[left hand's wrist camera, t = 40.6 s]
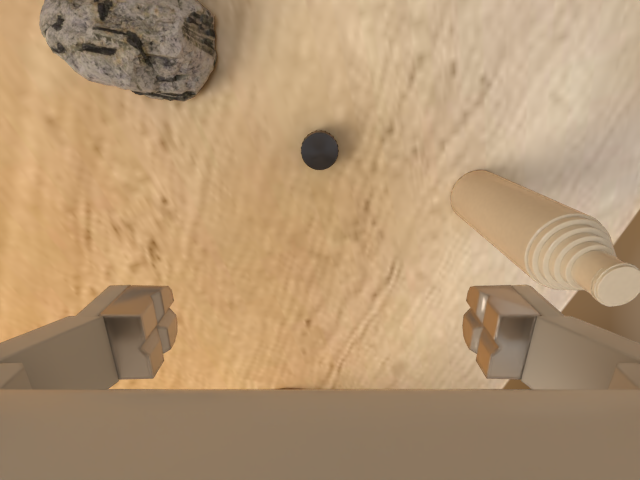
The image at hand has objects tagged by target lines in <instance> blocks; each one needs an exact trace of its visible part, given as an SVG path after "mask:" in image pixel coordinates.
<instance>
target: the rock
mask: <svg viewBox="0 0 640 480" xmlns="http://www.w3.org/2000/svg"><path fill="white" fill-rule="evenodd" d="M39 25H40V29H41V32H42V35H43V36H44V37H45V38H46V41H47V44H48V45H49V47H50V48H51V50H52V52H53V53H55V54H57V55H58V56H60V57H61V58H62V59H63V60H65V61H66V62H67V63H68V64H69V66H70V67H71V68H72V69H73V70H74V71H75V72H77V73H78V74H80V75H81V76H83V77H84V78H86V79H87V80H89V81H92V82H96V83H100V84H104V85H109V86H116V87H118V88H121V89H125V90H127V89H128V90H131V91H132V92H134V93H135V94H138V95H145V96H147V97H149V98H154V99H162V100H163V99H167V100H170V101H171V100H179V101H186V100H188V99H190V98H192V97H194V96H195V95H196V94H197V93H198V92H199V91H200V89H201V88H202V87H203V86H204V84H205V83H206V81H207V80H208V77H209V75H210V73H211V72H212V71H213V69H214V66H215V63H216V58H217V55H216V51H215V50H214V48H215V42H214V40H215V32H214V15H213V14H212V13H211V12H210V11H209V10H207V9H206V8H204V7H203V6H202V5H201V4H200V3H199V2H198V1H197V0H45V2H44V5H43V6H42V10H41V13H40V24H39Z"/></svg>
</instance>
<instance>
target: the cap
mask: <svg viewBox="0 0 640 480" xmlns="http://www.w3.org/2000/svg"><path fill="white" fill-rule="evenodd" d="M301 154H302V158H303V160H304V162H305V163H306V164H307V165H308V166H309V167H311V168H313V169H316V170H324V169H327V168H329V167H330V166H332V165H333V164H334V162H335V161H336V159H337V156H338V145H337V143H336V140H335V139H334V137H333V136H332V135H330V133H327V132H326V131H317V130H316V131H315V132H312V133H310V134H308V136H307V137H306V138H305V139H304V142H303V143H302V147H301Z"/></svg>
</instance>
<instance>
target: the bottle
mask: <svg viewBox="0 0 640 480" xmlns="http://www.w3.org/2000/svg"><path fill="white" fill-rule="evenodd" d="M451 205H452V208H453V210H454V212H455V213H456V214H457V215H458V216H459V217H460V218H462V219H463V220H464V221H465V222H466V223H467V224H469V225H470V226H471V227H472V228H473V229H474V230H476V231H477V232H478V233H479V234H480V235H481V236H483V237H484V238H485V239H486V240H487V241H488V242H490V243H491V244H492V245H493V246H494V247H495V248H497V249H498V250H499V251H500V252H501V253H502V254H504V255H505V256H506V257H507V258H508V259H509V260H511V261H512V262H513V263H514V264H515V265H516V266H518V267H519V268H520V269H521V270H522V271H523V272H525V273H526V274H527V275H528V276H529V277H530V278H532V279H533V280H534V281H535V282H537V283H538V284H541V285H543V286H546V287H549V288H552V289H557V290H586V291H587V292H589V293H590V294H591V295H592V296H593V298H595V299H596V300H597V301H599V302H600V303H601V304H603V305H606V306H611V307H612V306H618V305H623V304H626V303H628V302H630V301H631V300H633V299H634V298H635V297H636V296H637V295H638V294H639V293H640V271H639V269H638V268H637V267H636V266H634V265H632V264H630V263H625V262H623V261H622V260H620V259H618V258H617V257H616V254H615V250H614V248H613V244H612V242H611V238H610V235H609V233H608V232H607V230H606V229H605V228H604V227H603V226H602V224H601V223H600V222H599V221H598V220H596V219H595V218H593V217H591V216H589V215H587V214H585V213H582V212H580V211H578V210H575V209H573V208H571V207H569V206H566V205H564V204H562V203H560V202H557V201H555V200H553V199H550V198H548V197H546V196H544V195H541V194H539V193H537V192H535V191H532V190H530V189H528V188H526V187H523V186H521V185H519V184H516V183H514V182H512V181H510V180H507V179H505V178H503V177H501V176H498V175H496V174H494V173H491V172H489V171H485V170H476V171H472V172H469V173H467V174H466V175H464V176H463V177H461V178H460V179H459V180H458V181H457V183H456V184H455V186H454V187H453V190H452V193H451Z"/></svg>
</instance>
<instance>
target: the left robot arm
mask: <svg viewBox="0 0 640 480" xmlns="http://www.w3.org/2000/svg"><path fill="white" fill-rule="evenodd" d="M173 301H174V299H173V294H172V290H171V289H170V287H169V286H143V285H132V286H131V285H113V286H109V287H108V288H107V289H105V290H104V291H103V292H102V293H101V294H100V295H99V296H97V297H96V298H95V299H94V300H93V301H92V302H91V303H90V304H88V305H87V306H86V307H85V308H84V309H83V310H82V311H81V312H79V313H78V314H77V315H76V316H68V317H66V318H63V319H61V320H58V321H55V322H53V323H50V324H48V325H45V326H43V327H40V328H38V329H35V330H32V331H30V332H27V333H25V334H22V335H20V336H17V337H15V338H12V339H9V340H7V341H4V342H2V343H0V480H640V343H638V342H636V341H633V340H630V339H628V338H625V337H623V336H620V335H618V334H615V333H613V332H610V331H607V330H605V329H602V328H600V327H597V326H595V325H592V324H590V323H587V322H584V321H582V320H579V319H577V318H574V317H572V316H564V315H563V314H562V313H561V312H560V311H558V310H557V309H556V308H555V307H554V306H553V305H552V304H550V303H549V302H548V301H547V300H546V299H545V298H544V297H543V296H541V295H540V294H539V293H538V292H537V291H536V290H535V289H534V288H532V287H531V286H529V285H496V286H472V287H470V288H469V291H468V293H467V299H466V301H467V303H468V304H469V306H470V309H469V310H468V311H467V312H466V313H465V314H464V317H463V325H462V326H463V336H464V339H465V342H466V344H467V346H468V348H469V349H470V350H471V351H473V352H475V353H476V354H477V357H476V361H477V363H478V365H479V366H480V368H481V370H482V371H483V373H484V375H485V376H486V378H487V379H521V381H522V382H523V383H525V384H526V385H527V386H529V387H530V388H531V389H109V388H110V387H111V386H113V385H114V384H115V383H117V382H118V381H119V379H152V378H154V376H155V375H156V373H157V371H158V370H159V368H160V366H161V365H162V363H163V361H164V357H163V354H164V353H165V352H167V351H169V350H170V349H171V348H172V346H173V344H174V342H175V339H176V335H177V317H176V314H175V313H174V312H173V311H172V310H171V309H170V306H171V304H172V303H173Z"/></svg>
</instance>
